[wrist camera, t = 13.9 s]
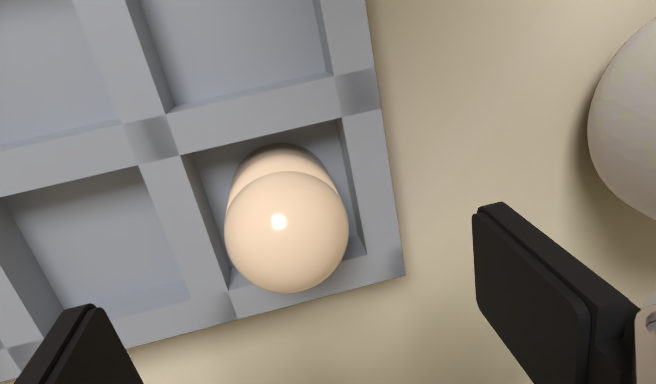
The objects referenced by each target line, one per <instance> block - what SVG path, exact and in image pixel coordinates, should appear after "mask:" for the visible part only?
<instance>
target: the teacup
mask: <svg viewBox="0 0 656 384" xmlns="http://www.w3.org/2000/svg"><path fill="white" fill-rule="evenodd" d="M587 135H588V147H589V151H590V156H591V159H592V162H593V164H594V167H595V169H596V171H597V173H598V175H599V176H600V178H601V179H602V181H603V182H604V183H605V185H606V186H607V187H608V188H609V189H610V190H611V191H612V192H613V193H614V194H615V195H616V196H617V197H618V198H619V199H621V200H622V201H623V202H625V203H626V204H628V205H629V206H631V207H632V208H634V209H635V210H637V211H639V212H641V213H642V214H644V215H646V216H648V217H650V218H651V219H653V220H655V221H656V17H655V18H654V19H653V20H651V21H650V22H649V23H647V24H646V25H645V26H643V27H642V28H641V29H640V30H639V31H637V32H636V33H635V34H634V35H633V36H632V37H631V38H630V39H629V40H628V41H627V42H626V43H625V44H624V45H623V46H622V48H621V49H620V50H619V51H618V52H617V54H616V55H615V56H614V58H613V59H612V61H611V62H610V64H609V65H608V67H607V68H606V70H605V71H604V73H603V75H602V77H601V79H600V81H599V83H598V86H597V88H596V90H595V93H594V96H593V99H592V102H591V106H590V111H589V116H588V126H587Z"/></svg>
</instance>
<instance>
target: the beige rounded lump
mask: <svg viewBox="0 0 656 384" xmlns="http://www.w3.org/2000/svg"><path fill="white" fill-rule="evenodd" d="M348 238H349V222H348V216H347V213H346V209H345V207H344V204H343V202H342V200H341V198H340V196H339V194H338V192H337V190H336V188H335V186H334V184H333V182H332V179H331V177H330V175H329V173H328V171H327V169H326V167H325V166H324V164H323V163H322V161H321V160H320V159H319V158H318V157H317V156H316V155H315V154H314V153H312V152H311V151H309V150H307V149H306V148H304V147H301V146H298V145H295V144H290V143H274V144H269V145H265V146H262V147H260V148H258V149H256V150H254V151H253V152H251V153H250V154H249V155H247V156H246V157H245V158H244V159H243V160H242V161H241V163H240V164H239V165H238V167H237V169H236V171H235V173H234V175H233V178H232V183H231V188H230V194H229V199H228V205H227V210H226V216H225V221H224V241H225V245H226V249H227V252H228V255H229V257H230V259H231V261H232V263H233V264H234V266H235V267H236V269H237V270H238V271H239V272H240V274H241V275H242V276H244V277H245V278H246V279H247V280H248V281H250V282H251V283H253V284H254V285H256V286H258V287H260V288H262V289H265V290H268V291H272V292H278V293H295V292H300V291H304V290H307V289H309V288H312V287H314V286H316V285H317V284H319V283H321V282H322V281H324V280H325V279H326V278H327V277H329V276H330V275H331V274H332V273H333V271H334V270H335V269H336V268H337V266H338V265H339V263H340V262H341V260H342V258H343V256H344V254H345V250H346V247H347V244H348Z"/></svg>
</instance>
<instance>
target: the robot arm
mask: <svg viewBox="0 0 656 384" xmlns="http://www.w3.org/2000/svg"><path fill="white" fill-rule="evenodd" d="M472 234H473V252H474V269H475V287H476V300H477V304H478V307H479V309H480V311H481V312H482V314H483V315H484V316H485V318H486V319H487V321H488V322H489V323H490V325H491V326H492V327H493V329H494V330H495V331H496V333H497V334H498V335H499V337H500V338H501V339H502V341H503V342H504V344H505V345H506V346H507V348H508V349H509V350H510V352H511V353H512V354H513V356H514V357H515V358H516V360H517V361H518V362H519V364H520V365H521V367H522V368H523V369H524V371H525V372H526V373H527V375H528V376H529V377H530V379H531V380H532V381H533V383H534V384H656V304H655V305H651V306H648V307H645V308H643V309H642V310H641V309H640V308H638V307H637V306H636V305H634V304H633V303H632V302H631V301H629V299H628V298H627V297H625V296H624V295H623V294H621V293H620V292H619V291H618V290H616V289H615V288H614V287H612V286H611V285H610V284H609V283H607V282H606V281H605V280H603V279H602V278H601V277H600V276H598V275H597V274H596V273H594V272H593V271H592V270H590V269H589V268H588V267H587V266H585V265H584V264H583V263H581V262H580V261H579V260H578V259H576V258H575V257H574V256H572V255H571V254H570V253H569V252H567V251H566V250H565V249H563V248H562V247H561V246H559V245H558V244H557V243H556V242H554V241H553V240H552V239H550V238H549V237H548V236H547V235H545V234H544V233H543V232H541V231H540V230H539V229H538V228H536V227H535V226H534V225H532V224H531V223H530V222H528V221H527V220H526V219H525V218H523V217H522V216H521V215H519V214H518V213H517V212H516V211H514V210H513V209H512V208H510V207H509V206H508V205H507V204H505V203H503V202H497V203H493V204H489V205H485V206H481V207H479V208H478V211H477V213H476V214H473V215H472ZM14 384H144V383H143V382H142V380H141V378H140V376H139V374H138V372H137V370H136V368H135V366H134V365H133V363H132V361H131V359H130V357H129V355H128V353H127V351H126V349H125V348H124V346H123V344H122V342H121V340H120V338H119V336H118V334H117V333H116V331H115V329H114V327H113V325H112V323H111V321H110V319H109V317H108V316H107V314H106V312H105V310H104V309H103V308H102V307H96V306H95V305H94V304H91V303H89V304H85V305H81V306H77V307H73V308H69V309H66V310H64V311H63V312H62V313H61V314H60V316H59V317H58V319H57V320H56V322H55V323H54V325H53V326H52V328H51V329H50V331H49V332H48V334H47V335H46V337H45V338H44V340H43V341H42V343H41V344H40V346H39V347H38V349H37V350H36V351H35V353H34V354H33V356H32V357H31V359H30V360H29V362H28V363H27V365H26V366H25V368H24V369H23V371H22V372H21V374H20V375H19V377H18V378H17V380H16V381H15V383H14Z"/></svg>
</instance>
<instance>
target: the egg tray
mask: <svg viewBox="0 0 656 384" xmlns="http://www.w3.org/2000/svg"><path fill="white" fill-rule="evenodd" d="M274 143H290V144H295V145H298V146H301V147H304V148H306V149H307V150H309V151H311V152H312V153H314V154H315V155H316V156H317V157H318V158H319V159H320V160H321V161H322V163H323V164H324V166H325V167H326V169H327V171H328V173H329V175H330V177H331V179H332V182H333V184H334V186H335V188H336V190H337V192H338V194H339V196H340V198H341V200H342V202H343V204H344V207H345V209H346V213H347V216H348V222H349V238H348V244H347V247H346V250H345V254H344V256H343V258H342V260H341V262H340V263H339V265H338V266H337V268H336V269H335V270H334V271H333V273H332V274H331V275H330V276H329V277H327V278H326V279H325V280H324V281H322V282H321V283H319V284H317V285H316V286H314V287H312V288H309V289H307V290H304V291H300V292H295V293H278V292H272V291H268V290H265V289H262V288H260V287H258V286H256V285H254V284H253V283H251V282H250V281H248V280H247V279H246V278H245V277H244V276H242V275H241V274H240V272H239V271H238V270H237V269H236V267H235V266H234V264H233V263H232V261H231V259H230V257H229V255H228V252H227V249H226V245H225V241H224V221H225V216H226V210H227V205H228V199H229V194H230V188H231V183H232V178H233V175H234V173H235V171H236V169H237V167H238V165H239V164H240V163H241V161H242V160H243V159H244V158H245V157H246V156H247V155H249V154H250V153H251V152H253V151H254V150H256V149H258V148H260V147H262V146H265V145H269V144H274ZM404 275H406V274H405V267H404V260H403V253H402V247H401V240H400V233H399V226H398V220H397V213H396V206H395V199H394V193H393V186H392V179H391V173H390V166H389V159H388V152H387V146H386V139H385V132H384V125H383V119H382V112H381V105H380V98H379V92H378V85H377V78H376V71H375V65H374V58H373V51H372V45H371V38H370V31H369V24H368V18H367V11H366V4H365V0H0V382H3V381H6V380H10V379H14V378H18V377H19V375H20V374H21V372H22V371H23V369H24V368H25V366H26V365H27V363H28V362H29V360H30V359H31V357H32V356H33V354H34V353H35V351H36V350H37V349H38V347H39V346H40V344H41V343H42V341H43V340H44V338H45V337H46V335H47V334H48V332H49V331H50V329H51V328H52V326H53V325H54V323H55V322H56V320H57V319H58V317H59V316H60V314H61V313H62V312H63V311H64V310H66V309H69V308H73V307H77V306H81V305H85V304H89V303H91V304H94V305H95V306H96V307H102V308H103V309H104V310H105V312H106V314H107V316H108V317H109V319H110V321H111V323H112V325H113V327H114V329H115V331H116V333H117V334H118V336H119V338H120V340H121V342H122V344H123V346H124V348H125V349H128V348H132V347H135V346H139V345H143V344H147V343H151V342H154V341H158V340H162V339H166V338H169V337H173V336H177V335H181V334H185V333H188V332H192V331H196V330H200V329H204V328H207V327H211V326H215V325H219V324H223V323H226V322H230V321H234V320H238V319H241V318H245V317H249V316H253V315H257V314H260V313H264V312H268V311H272V310H276V309H279V308H283V307H287V306H291V305H295V304H298V303H302V302H306V301H310V300H313V299H317V298H321V297H325V296H329V295H332V294H336V293H340V292H344V291H348V290H351V289H355V288H359V287H363V286H367V285H370V284H374V283H378V282H382V281H386V280H389V279H393V278H397V277H401V276H404Z"/></svg>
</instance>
